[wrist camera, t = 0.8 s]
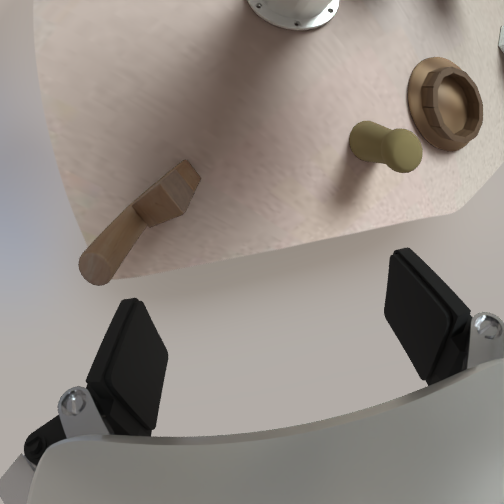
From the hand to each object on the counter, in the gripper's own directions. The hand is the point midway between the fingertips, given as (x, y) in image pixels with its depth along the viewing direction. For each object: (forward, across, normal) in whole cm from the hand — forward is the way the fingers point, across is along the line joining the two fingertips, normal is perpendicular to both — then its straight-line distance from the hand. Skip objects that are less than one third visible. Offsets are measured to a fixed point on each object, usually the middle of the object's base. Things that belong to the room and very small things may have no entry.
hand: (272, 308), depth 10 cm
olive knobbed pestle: (+30, -18, -1) cm, 35 cm away
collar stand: (+30, -34, -7) cm, 46 cm away
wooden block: (+30, +12, +1) cm, 32 cm away
